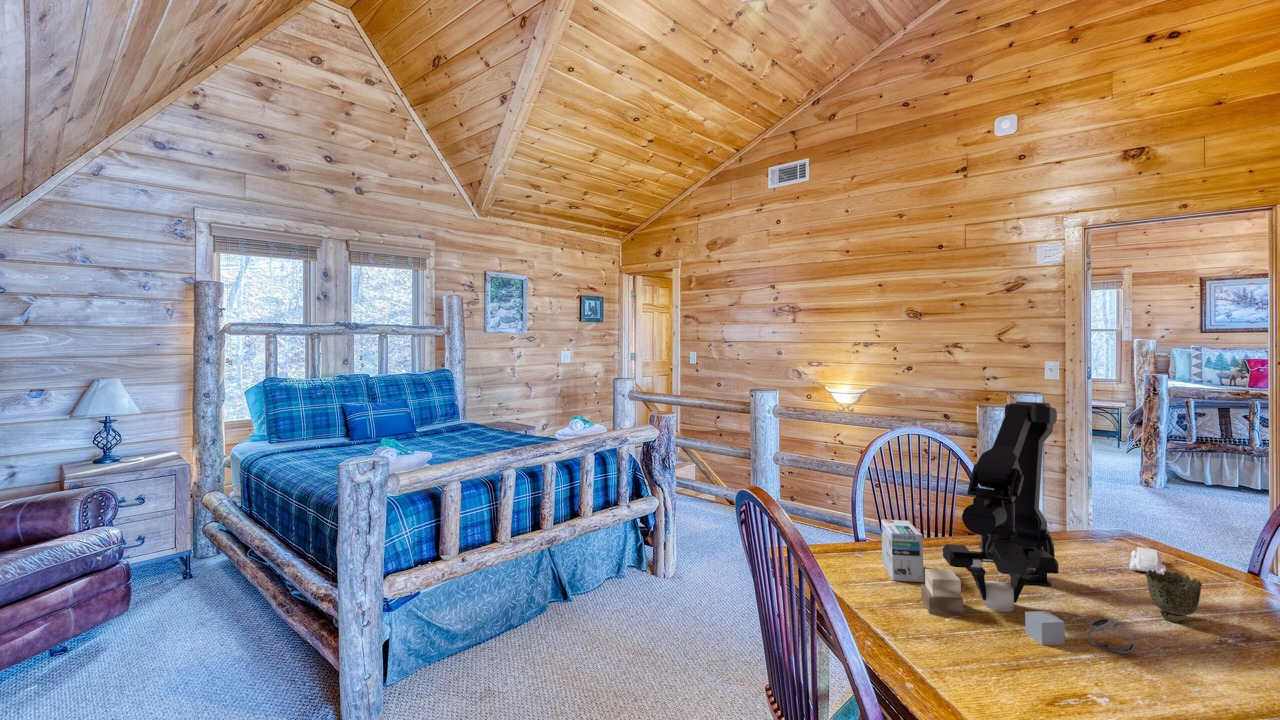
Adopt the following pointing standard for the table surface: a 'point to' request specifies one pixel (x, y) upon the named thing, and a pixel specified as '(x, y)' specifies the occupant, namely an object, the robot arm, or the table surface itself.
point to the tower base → (941, 604)
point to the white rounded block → (1146, 561)
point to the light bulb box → (902, 550)
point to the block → (1045, 628)
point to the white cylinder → (999, 596)
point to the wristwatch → (1101, 626)
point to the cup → (1174, 594)
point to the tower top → (942, 583)
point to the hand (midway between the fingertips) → (998, 600)
